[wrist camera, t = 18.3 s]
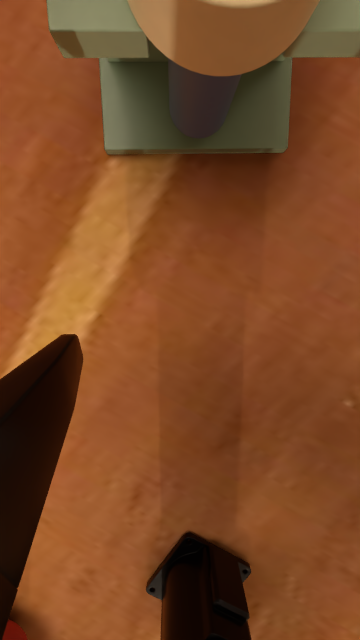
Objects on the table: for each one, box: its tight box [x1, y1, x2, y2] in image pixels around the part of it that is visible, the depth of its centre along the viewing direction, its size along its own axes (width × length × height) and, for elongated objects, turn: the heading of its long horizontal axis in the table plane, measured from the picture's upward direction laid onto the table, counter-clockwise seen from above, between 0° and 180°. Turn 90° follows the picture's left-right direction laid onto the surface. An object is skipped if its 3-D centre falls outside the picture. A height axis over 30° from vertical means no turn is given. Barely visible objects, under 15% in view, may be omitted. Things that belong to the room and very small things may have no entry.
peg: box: [127, 0, 320, 138], centre depth 11 cm, size 6×6×10 cm
